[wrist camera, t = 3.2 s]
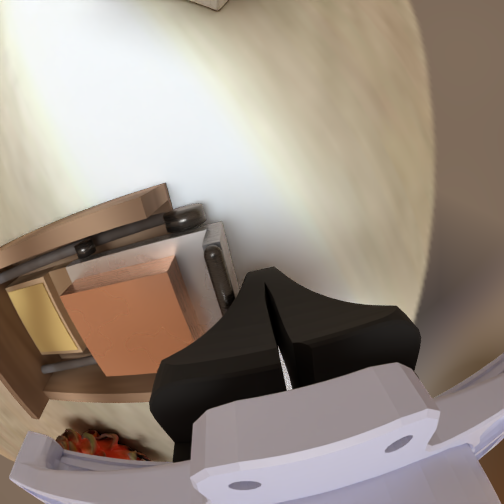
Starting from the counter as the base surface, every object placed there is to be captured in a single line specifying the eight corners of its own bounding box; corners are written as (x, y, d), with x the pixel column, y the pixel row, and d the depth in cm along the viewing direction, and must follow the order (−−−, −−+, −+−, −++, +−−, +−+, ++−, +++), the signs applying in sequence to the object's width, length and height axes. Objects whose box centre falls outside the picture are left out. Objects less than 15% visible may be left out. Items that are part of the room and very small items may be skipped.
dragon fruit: (59, 400, 20) (162, 428, 24) (57, 458, 18) (154, 482, 22) (38, 431, 12) (176, 467, 17) (44, 498, 10) (166, 525, 14)
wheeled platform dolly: (218, 197, 12) (213, 223, 8) (252, 329, 15) (261, 390, 11) (81, 236, 12) (32, 273, 8) (132, 349, 15) (112, 405, 11)
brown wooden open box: (165, 182, 13) (119, 209, 7) (218, 346, 16) (216, 426, 11) (2, 245, 13) (-54, 283, 7) (62, 363, 16) (32, 418, 11)
